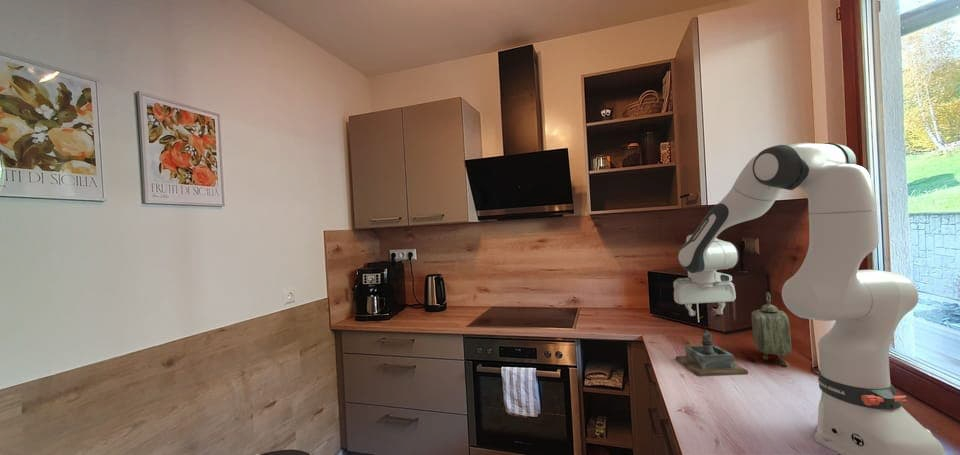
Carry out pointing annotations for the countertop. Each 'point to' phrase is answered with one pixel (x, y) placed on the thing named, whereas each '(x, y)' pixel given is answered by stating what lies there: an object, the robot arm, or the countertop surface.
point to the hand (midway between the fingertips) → (705, 315)
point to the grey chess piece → (707, 344)
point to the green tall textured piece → (771, 331)
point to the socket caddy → (710, 362)
